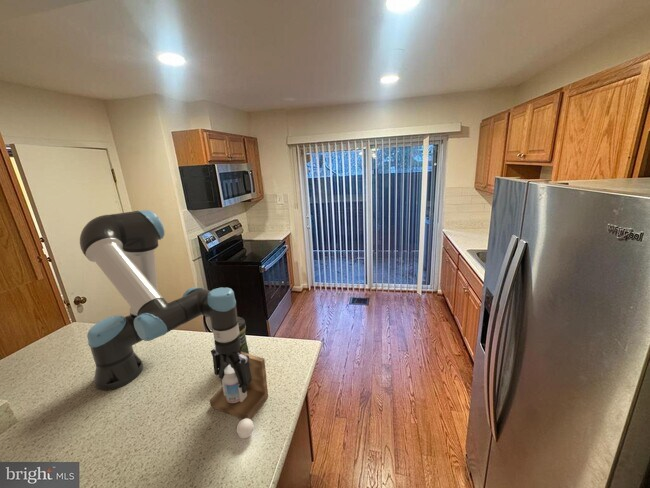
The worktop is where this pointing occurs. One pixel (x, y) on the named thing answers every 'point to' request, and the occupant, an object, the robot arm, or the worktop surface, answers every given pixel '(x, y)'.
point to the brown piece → (255, 392)
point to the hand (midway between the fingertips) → (235, 395)
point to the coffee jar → (242, 335)
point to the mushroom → (245, 428)
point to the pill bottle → (231, 385)
